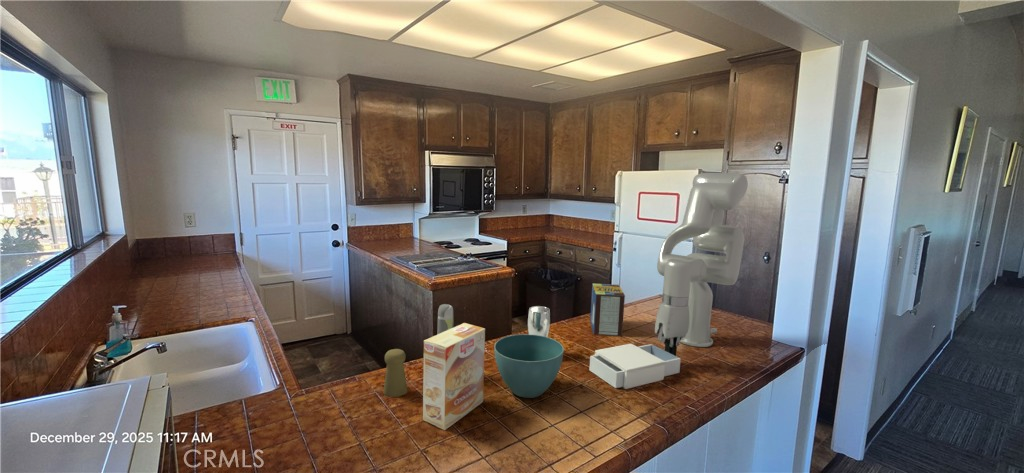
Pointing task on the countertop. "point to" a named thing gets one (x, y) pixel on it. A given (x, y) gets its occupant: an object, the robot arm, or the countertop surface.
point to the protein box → (607, 309)
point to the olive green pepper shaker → (395, 373)
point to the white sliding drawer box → (616, 375)
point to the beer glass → (539, 320)
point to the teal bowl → (528, 363)
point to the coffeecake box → (453, 374)
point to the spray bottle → (445, 318)
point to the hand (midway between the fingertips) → (669, 357)
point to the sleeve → (634, 364)
